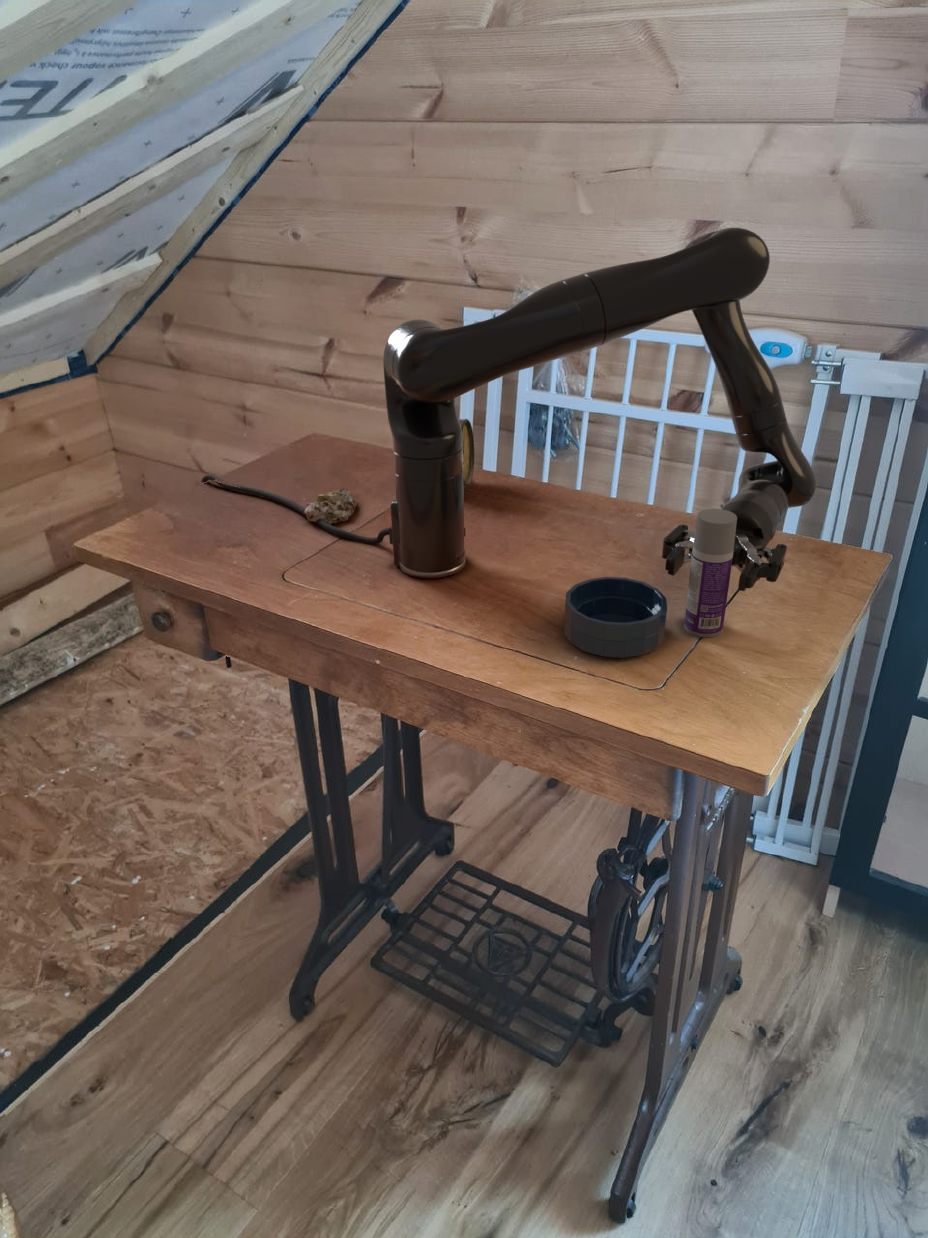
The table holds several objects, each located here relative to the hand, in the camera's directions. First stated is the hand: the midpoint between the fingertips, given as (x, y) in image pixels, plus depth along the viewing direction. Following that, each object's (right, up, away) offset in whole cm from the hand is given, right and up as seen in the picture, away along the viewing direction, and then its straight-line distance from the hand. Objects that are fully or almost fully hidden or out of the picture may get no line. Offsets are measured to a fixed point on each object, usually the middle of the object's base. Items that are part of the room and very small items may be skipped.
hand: (705, 575), depth 108 cm
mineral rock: (-50, +12, +39) cm, 64 cm away
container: (+1, -6, +5) cm, 8 cm away
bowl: (-10, -7, +4) cm, 13 cm away
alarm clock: (-30, +17, +47) cm, 58 cm away
